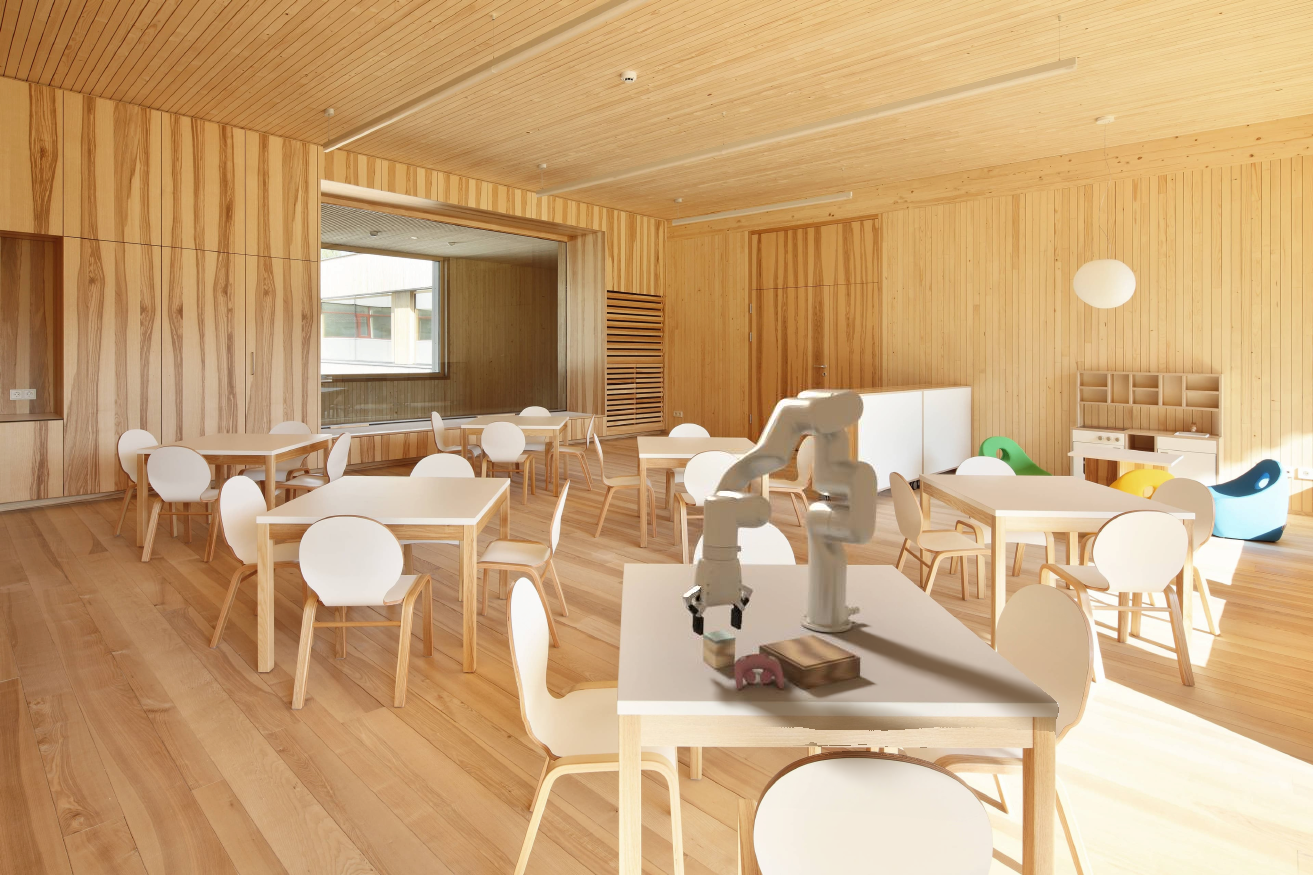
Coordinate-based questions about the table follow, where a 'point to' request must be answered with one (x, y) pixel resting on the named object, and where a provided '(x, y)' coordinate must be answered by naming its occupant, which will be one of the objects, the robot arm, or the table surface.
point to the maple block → (719, 649)
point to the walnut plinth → (812, 661)
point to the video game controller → (758, 661)
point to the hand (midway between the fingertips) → (717, 630)
